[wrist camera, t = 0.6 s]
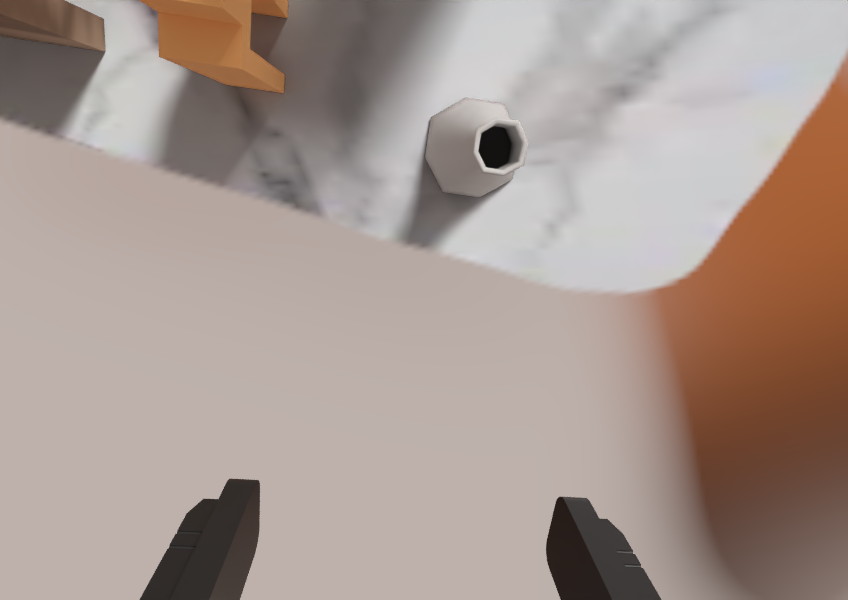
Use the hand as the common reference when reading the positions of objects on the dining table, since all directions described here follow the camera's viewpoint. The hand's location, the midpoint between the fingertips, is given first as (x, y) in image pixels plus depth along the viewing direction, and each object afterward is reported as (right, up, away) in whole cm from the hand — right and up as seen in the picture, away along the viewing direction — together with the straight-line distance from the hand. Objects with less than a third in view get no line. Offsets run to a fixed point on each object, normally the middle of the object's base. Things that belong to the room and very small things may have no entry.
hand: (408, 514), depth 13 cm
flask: (+4, +17, +24) cm, 30 cm away
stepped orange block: (-11, +24, +21) cm, 33 cm away
